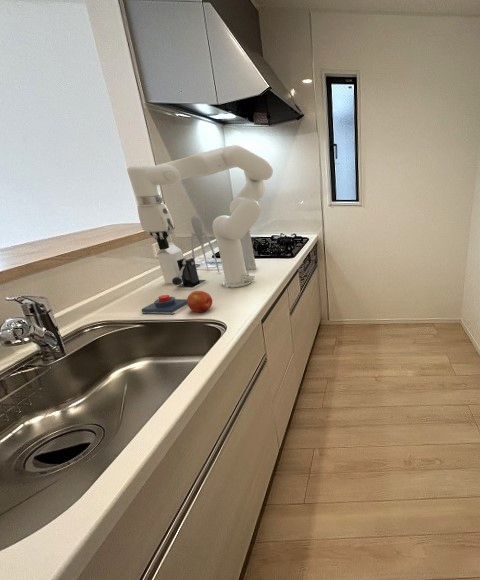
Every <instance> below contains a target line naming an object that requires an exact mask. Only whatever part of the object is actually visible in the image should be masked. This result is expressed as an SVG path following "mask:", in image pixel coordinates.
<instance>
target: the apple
mask: <svg viewBox="0 0 480 580" xmlns="http://www.w3.org/2000/svg"><path fill="white" fill-rule="evenodd" d="M186 299H187V304H186V305H187V307H188V308H189V309H190V310H192V311H194V312H196V313H204V312H206V311H209V310H210V308H211V307H212V305H213V298H212V296H211V295H210V294H209V293H208V292H206V291H203V290H195V291H192V292H191V293H190V294H188V295H187V298H186Z"/></svg>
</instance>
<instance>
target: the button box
mask: <svg viewBox="0 0 480 580" xmlns="http://www.w3.org/2000/svg"><path fill="white" fill-rule="evenodd" d="M170 299H171V300H169V301H166V302H159V299H158V298H157V299H155V300H154V302H152V303H150V304H149V305H147V306H144V307H143V308H141V310H140V311H141V312H142V315H153V316H154V315H157V316H159V315H162V316H173V315H175V314H176V313H174V312H176V311H178V310H180V309H181V308H183V307H184V306H186V305H187V298H183V299H182V298H176V297H175V296H170Z"/></svg>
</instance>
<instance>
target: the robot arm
mask: <svg viewBox="0 0 480 580" xmlns="http://www.w3.org/2000/svg"><path fill="white" fill-rule="evenodd" d="M235 168H238V169H241V170H243V173H244V176H245V184H244V186H243V187H242V189H241V190H240V192H238V194H237V195H236V196H235V197H234V199H233V200H232V201H231V202H230V204H229V212H230V215H227V214H226V215H218V216H217V217H215V218H214V220H213V222H212V231H213V234H214V237H215V240H216V244H217V248H218V252H219V257H220V262H221V266H222V270H223V274H224V275H223V276H224V281H223V282H222V283H221V284H222V285H223V286H226V287H228V288H231V289H232V288H239V287H244V286H247V285H250V284H251V283H252V282H255V280H256V276H255V275H250V272H247V270H246V267H245V262H244V257H243V251H242V246H241V242H240V239H241V238H242V237H243V236H244V235H245V234H246V233H247V232H248V231H249V229H250V230H251V228H252V227H253V226H254V224H255V223H256V222H257V221H258V219H259V217H260V215H261V205H260V204H259V203H260V201H261V200H262V198H263V197H264V194H265V181H267V180H270V179H271V178H272V177H273V173H274V168H273V166H272V165H271V163H270V162H269V161H268V160H266V159H264V158H263V157H261V156H259V155H258V154H255V153H254V152H252V151H250V150H249V149H246V148H245V147H243V146H241V145H237V144H232V145H228V146H227V145H226V146H222V147H217V148H214V149H210V150H206V151H202V152H199V153H195V154H192V155H191V154H190V155H189V156H186V157H182V158H179V159H175V160H171V161H167V162H163V163H159V164H156V165H151V166H149V165H130V166H128V167H127V169H126V171H127V174H128V177H129V180H130V183H131V187H132V190H133V193H134V196H135V199H136V202H137V213H138V214H137V215H138V219H139V222H140V225H141V228H142V229H143V231H144V233H145V235H149V236H151V237H153V239H154V240H155V241H156V242H157V245H158V248H159V251H160V250H162V249H163V250H165V249H167V248H169V244H168V243H169V241H168V238H169V235H171V234H175V232H174V229H175V223H174V220H173V218H172V215H171V212H170V210H169V209H168V207H167V205H166V203H163V202H164V201H165V199H164V197H162V196H161V193H160V189H159V186H168V187H169V186H170V187H171V186H175V185H177V184H179V182H180V181H183V180H186V179H192V178H199V177H200V178H201V177H206V176H211V175H215V174H217V173H221V172H224V171H227V170H230V169H235Z"/></svg>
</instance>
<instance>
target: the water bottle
mask: <svg viewBox="0 0 480 580" xmlns="http://www.w3.org/2000/svg"><path fill="white" fill-rule="evenodd" d="M240 242H241V246H242V251H243V257H244V262H245V267H246V271H254V270H256V269H257V265H256V258H255V253H254V247H253V242H252V235H251V228H250V229H249V231H248V232H247V233H246V234H245V235H244V236H243V237H242V238H241V239H240Z"/></svg>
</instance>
